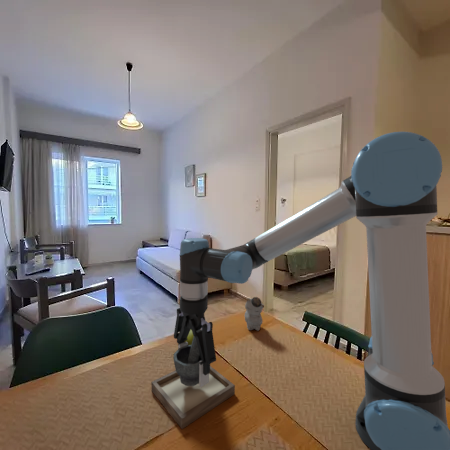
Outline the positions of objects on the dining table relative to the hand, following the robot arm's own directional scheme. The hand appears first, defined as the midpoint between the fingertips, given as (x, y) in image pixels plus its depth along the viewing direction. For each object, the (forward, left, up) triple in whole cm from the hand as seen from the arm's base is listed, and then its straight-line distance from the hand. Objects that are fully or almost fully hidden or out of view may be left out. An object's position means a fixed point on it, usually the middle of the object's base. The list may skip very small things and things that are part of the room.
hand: (192, 373), depth 70 cm
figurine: (+13, -40, -6) cm, 42 cm away
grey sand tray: (0, 0, -6) cm, 6 cm away
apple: (+17, -10, -6) cm, 21 cm away
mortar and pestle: (0, 0, -1) cm, 1 cm away
